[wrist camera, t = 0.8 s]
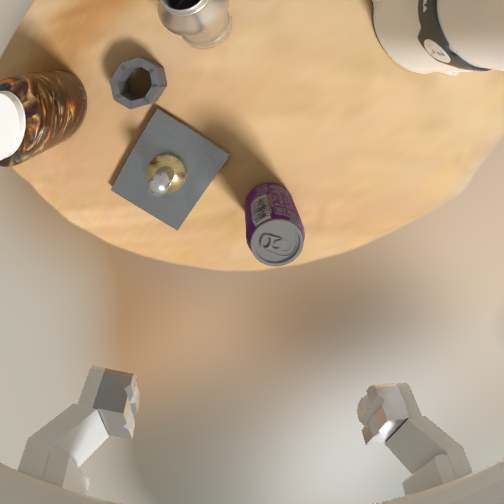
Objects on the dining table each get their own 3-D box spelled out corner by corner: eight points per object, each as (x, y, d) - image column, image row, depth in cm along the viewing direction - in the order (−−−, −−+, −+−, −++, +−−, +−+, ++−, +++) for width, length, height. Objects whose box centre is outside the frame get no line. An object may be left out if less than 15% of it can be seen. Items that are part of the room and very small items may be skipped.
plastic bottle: (176, 44, 35) (128, 22, 18) (193, 0, 32) (159, -50, 15) (222, 56, 37) (208, 39, 19) (239, 12, 33) (240, -36, 16)
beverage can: (240, 221, 49) (241, 265, 39) (249, 177, 46) (252, 211, 35) (286, 228, 50) (298, 273, 40) (297, 186, 47) (314, 221, 36)
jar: (41, 61, 34) (-23, 67, 21) (99, 84, 37) (43, 93, 24) (18, 129, 39) (-43, 157, 26) (71, 155, 42) (17, 191, 29)
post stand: (158, 108, 40) (144, 114, 34) (230, 153, 44) (229, 167, 38) (113, 187, 45) (95, 205, 39) (178, 227, 49) (170, 250, 43)
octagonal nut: (137, 52, 35) (128, 50, 32) (174, 74, 38) (168, 73, 34) (113, 91, 38) (102, 93, 34) (149, 112, 40) (141, 116, 37)
